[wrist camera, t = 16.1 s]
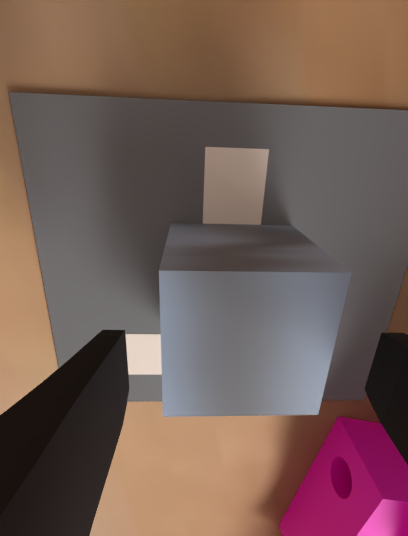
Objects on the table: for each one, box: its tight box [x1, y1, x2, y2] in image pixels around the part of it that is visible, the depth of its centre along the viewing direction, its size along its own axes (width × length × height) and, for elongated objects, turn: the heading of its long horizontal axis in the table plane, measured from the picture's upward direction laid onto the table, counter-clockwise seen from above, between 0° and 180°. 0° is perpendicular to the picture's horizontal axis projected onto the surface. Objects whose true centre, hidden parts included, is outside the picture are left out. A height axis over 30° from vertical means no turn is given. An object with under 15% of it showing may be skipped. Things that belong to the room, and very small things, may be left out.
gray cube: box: [159, 223, 351, 417], centre depth 11 cm, size 5×5×5 cm
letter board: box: [9, 92, 408, 401], centre depth 13 cm, size 16×14×1 cm
